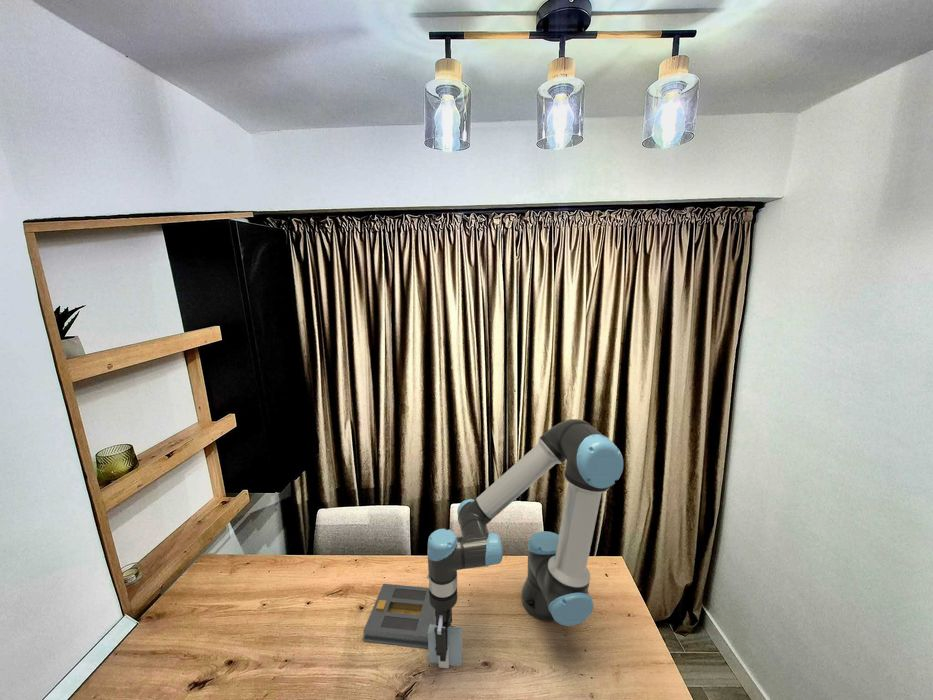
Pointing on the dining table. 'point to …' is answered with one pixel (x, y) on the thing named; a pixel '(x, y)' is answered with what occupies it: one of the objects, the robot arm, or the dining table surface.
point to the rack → (401, 617)
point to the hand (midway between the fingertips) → (445, 658)
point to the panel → (453, 644)
